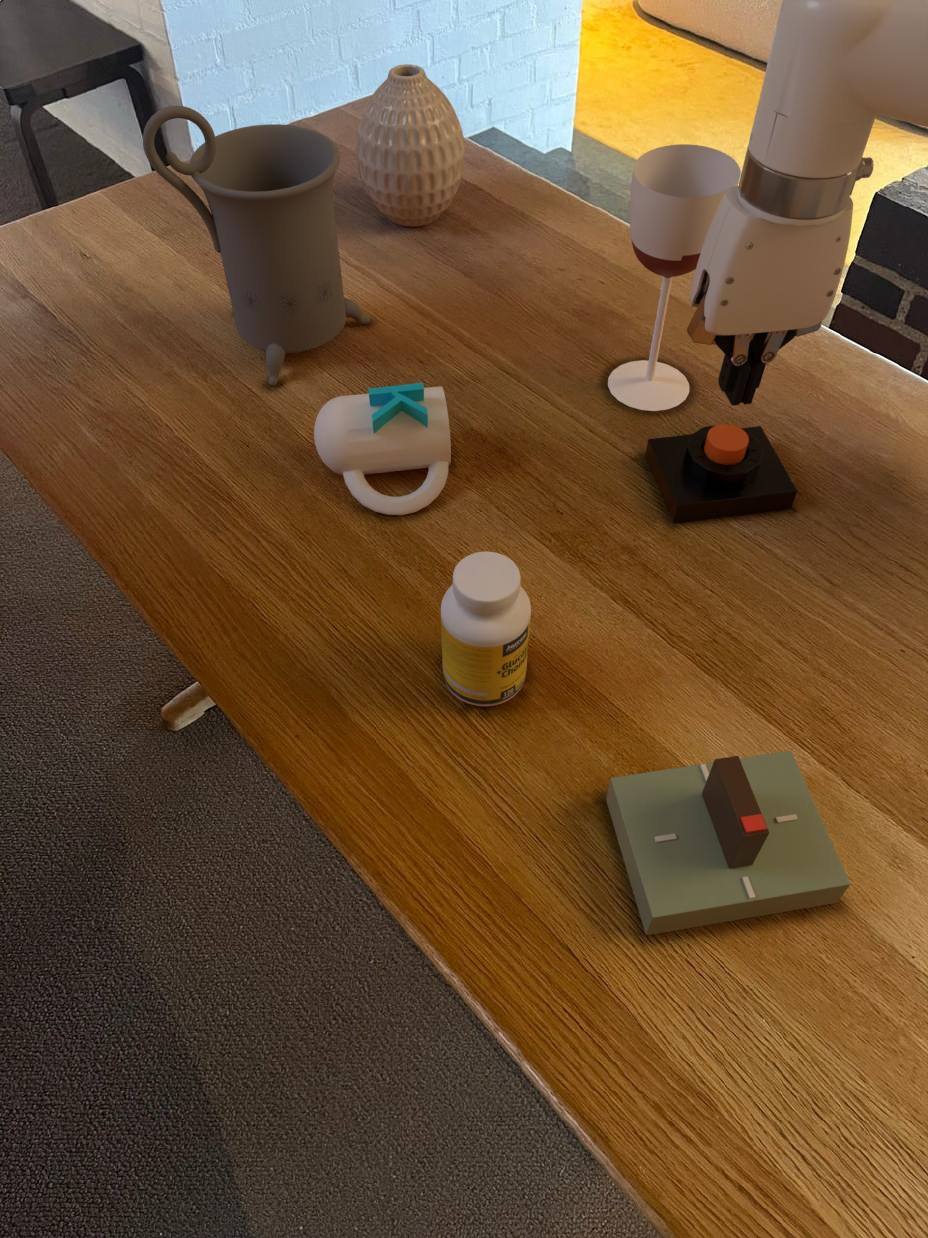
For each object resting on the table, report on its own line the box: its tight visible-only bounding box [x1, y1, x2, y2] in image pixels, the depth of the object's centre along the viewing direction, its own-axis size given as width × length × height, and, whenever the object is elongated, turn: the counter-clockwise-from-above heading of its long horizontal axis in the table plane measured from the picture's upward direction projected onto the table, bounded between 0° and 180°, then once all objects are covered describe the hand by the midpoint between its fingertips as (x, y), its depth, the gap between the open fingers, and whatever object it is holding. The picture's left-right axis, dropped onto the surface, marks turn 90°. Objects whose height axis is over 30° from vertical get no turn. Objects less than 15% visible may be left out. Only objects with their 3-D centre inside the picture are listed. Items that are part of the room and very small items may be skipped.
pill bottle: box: [440, 551, 532, 707], centre depth 70 cm, size 6×6×12 cm
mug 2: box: [313, 382, 452, 516], centre depth 86 cm, size 12×9×12 cm
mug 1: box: [142, 105, 371, 387], centre depth 93 cm, size 19×15×25 cm
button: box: [704, 423, 749, 465], centre depth 85 cm, size 4×4×2 cm
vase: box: [355, 63, 466, 228], centre depth 113 cm, size 13×13×17 cm
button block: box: [644, 424, 798, 524], centre depth 87 cm, size 11×9×4 cm
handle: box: [702, 755, 769, 869], centre depth 61 cm, size 6×2×5 cm, turn 9°
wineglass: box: [607, 143, 742, 412], centre depth 89 cm, size 9×10×22 cm
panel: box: [605, 750, 851, 936], centre depth 64 cm, size 13×10×3 cm
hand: (735, 394), depth 81 cm, fingers closed
